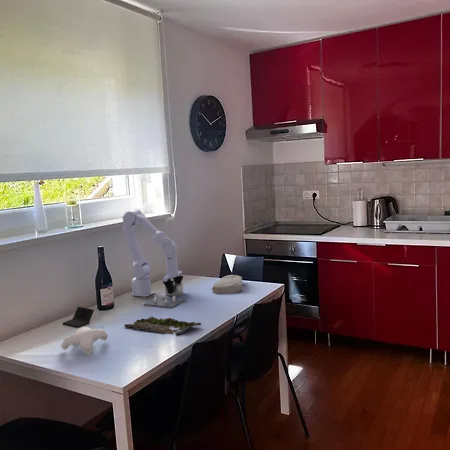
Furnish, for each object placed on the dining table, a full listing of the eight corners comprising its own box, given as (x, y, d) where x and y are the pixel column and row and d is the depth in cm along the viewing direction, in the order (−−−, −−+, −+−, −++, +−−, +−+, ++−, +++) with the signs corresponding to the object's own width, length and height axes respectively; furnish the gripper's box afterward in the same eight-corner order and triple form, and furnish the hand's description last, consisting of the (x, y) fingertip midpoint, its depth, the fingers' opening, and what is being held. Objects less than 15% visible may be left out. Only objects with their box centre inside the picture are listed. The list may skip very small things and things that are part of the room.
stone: (242, 293, 235) (242, 282, 234) (212, 295, 235) (211, 284, 234) (242, 282, 256) (241, 273, 255) (214, 284, 256) (213, 275, 256)
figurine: (61, 355, 179) (64, 361, 162) (57, 330, 180) (59, 334, 163) (106, 344, 186) (113, 349, 169) (103, 320, 186) (109, 323, 170)
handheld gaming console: (58, 322, 202) (69, 301, 206) (68, 327, 208) (78, 306, 212) (78, 328, 197) (89, 306, 201) (88, 333, 203) (98, 312, 207)
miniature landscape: (203, 326, 188) (202, 320, 188) (187, 338, 178) (186, 331, 178) (139, 320, 204) (138, 314, 203) (122, 331, 194) (121, 324, 193)
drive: (165, 295, 240) (164, 284, 239) (170, 293, 243) (169, 282, 242) (178, 296, 236) (177, 285, 235) (183, 294, 239) (182, 283, 239)
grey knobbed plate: (143, 305, 224) (143, 299, 224) (158, 298, 234) (158, 292, 234) (171, 308, 216) (171, 302, 216) (185, 300, 227) (185, 295, 226)
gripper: (170, 269, 229) (172, 296, 231) (186, 262, 242) (188, 288, 244) (158, 268, 233) (160, 295, 234) (175, 262, 245) (177, 287, 247)
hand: (174, 291), depth 239 cm, fingers open, 6 cm apart
